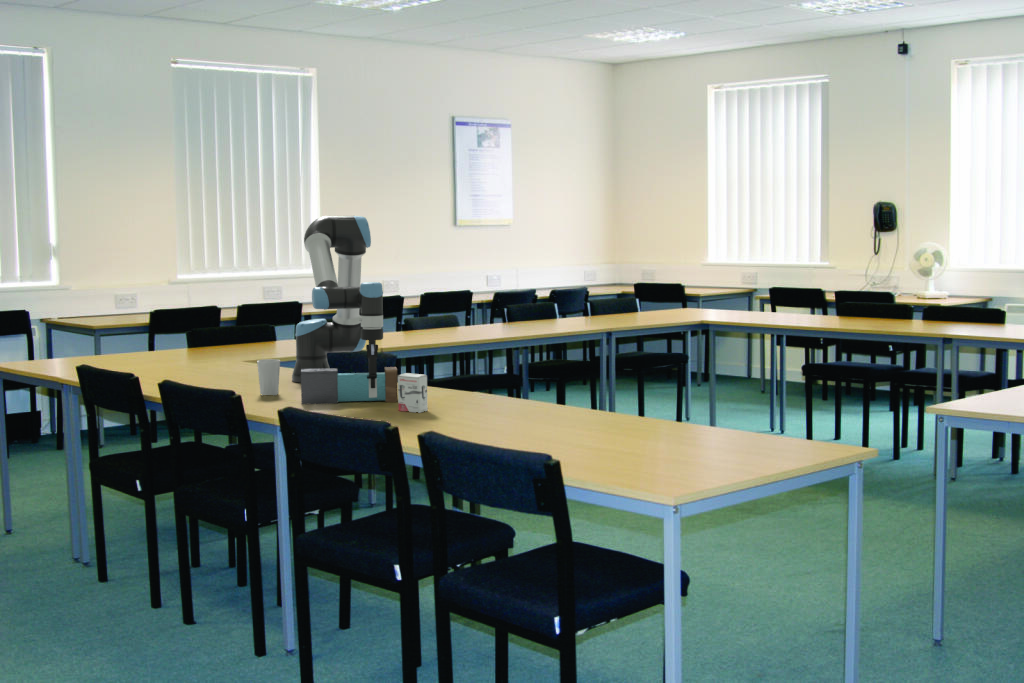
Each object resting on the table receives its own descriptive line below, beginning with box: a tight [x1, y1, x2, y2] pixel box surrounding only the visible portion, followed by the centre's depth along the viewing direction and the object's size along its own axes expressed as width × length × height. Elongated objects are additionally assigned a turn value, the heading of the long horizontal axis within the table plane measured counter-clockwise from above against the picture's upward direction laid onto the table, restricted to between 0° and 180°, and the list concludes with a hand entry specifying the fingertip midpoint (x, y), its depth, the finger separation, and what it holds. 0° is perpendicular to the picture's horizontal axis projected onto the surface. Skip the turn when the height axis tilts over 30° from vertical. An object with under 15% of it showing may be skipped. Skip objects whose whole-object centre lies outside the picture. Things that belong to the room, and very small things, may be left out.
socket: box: [384, 366, 398, 403], centre depth 371 cm, size 7×4×11 cm, turn 9°
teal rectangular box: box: [337, 371, 386, 402], centre depth 369 cm, size 4×22×9 cm, turn 99°
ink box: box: [397, 372, 429, 414], centre depth 350 cm, size 9×5×12 cm, turn 62°
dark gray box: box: [300, 367, 339, 405], centre depth 367 cm, size 7×12×11 cm, turn 99°
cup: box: [256, 358, 281, 396], centre depth 384 cm, size 8×8×12 cm
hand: (372, 396), depth 370 cm, fingers closed on teal rectangular box, 4 cm apart
